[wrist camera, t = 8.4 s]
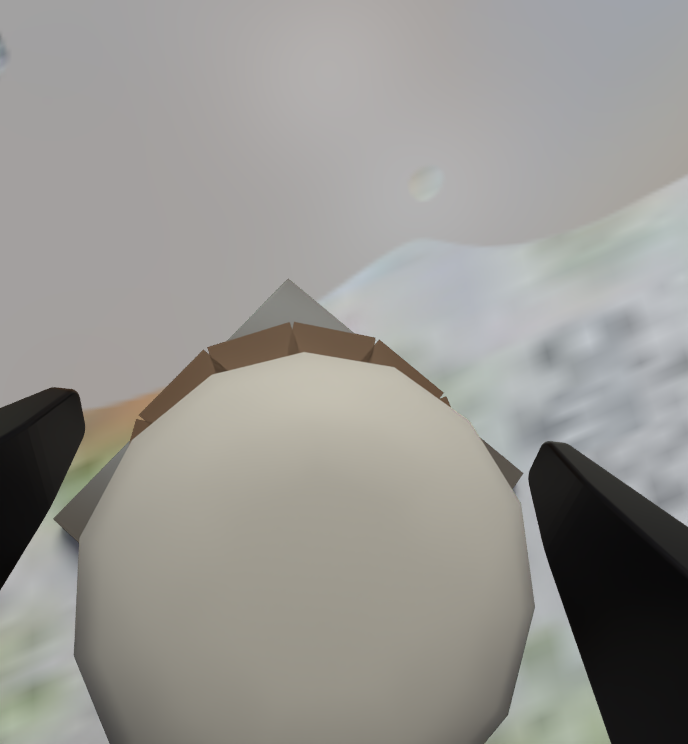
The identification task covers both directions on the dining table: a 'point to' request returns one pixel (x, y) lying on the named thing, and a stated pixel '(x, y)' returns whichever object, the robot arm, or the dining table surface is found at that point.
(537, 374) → the dining table surface
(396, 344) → the dining table surface
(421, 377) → the stand
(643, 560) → the robot arm
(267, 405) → the salt shaker
